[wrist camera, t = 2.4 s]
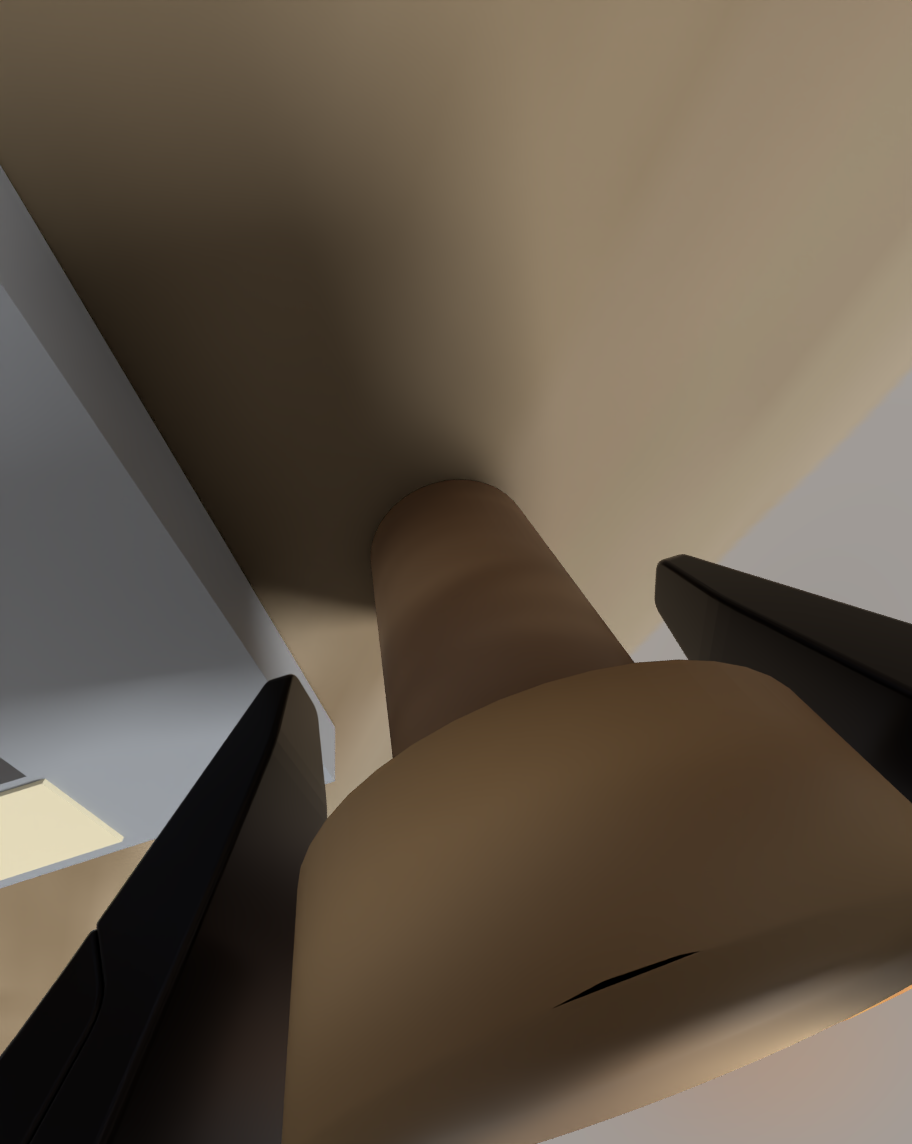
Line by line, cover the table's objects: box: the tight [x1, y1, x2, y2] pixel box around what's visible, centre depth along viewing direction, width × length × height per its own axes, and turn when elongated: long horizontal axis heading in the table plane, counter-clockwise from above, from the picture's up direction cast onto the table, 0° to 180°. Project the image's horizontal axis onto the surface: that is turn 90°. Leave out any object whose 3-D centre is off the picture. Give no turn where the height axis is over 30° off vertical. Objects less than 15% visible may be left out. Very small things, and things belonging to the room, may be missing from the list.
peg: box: [281, 480, 912, 1144], centre depth 7 cm, size 5×5×8 cm
